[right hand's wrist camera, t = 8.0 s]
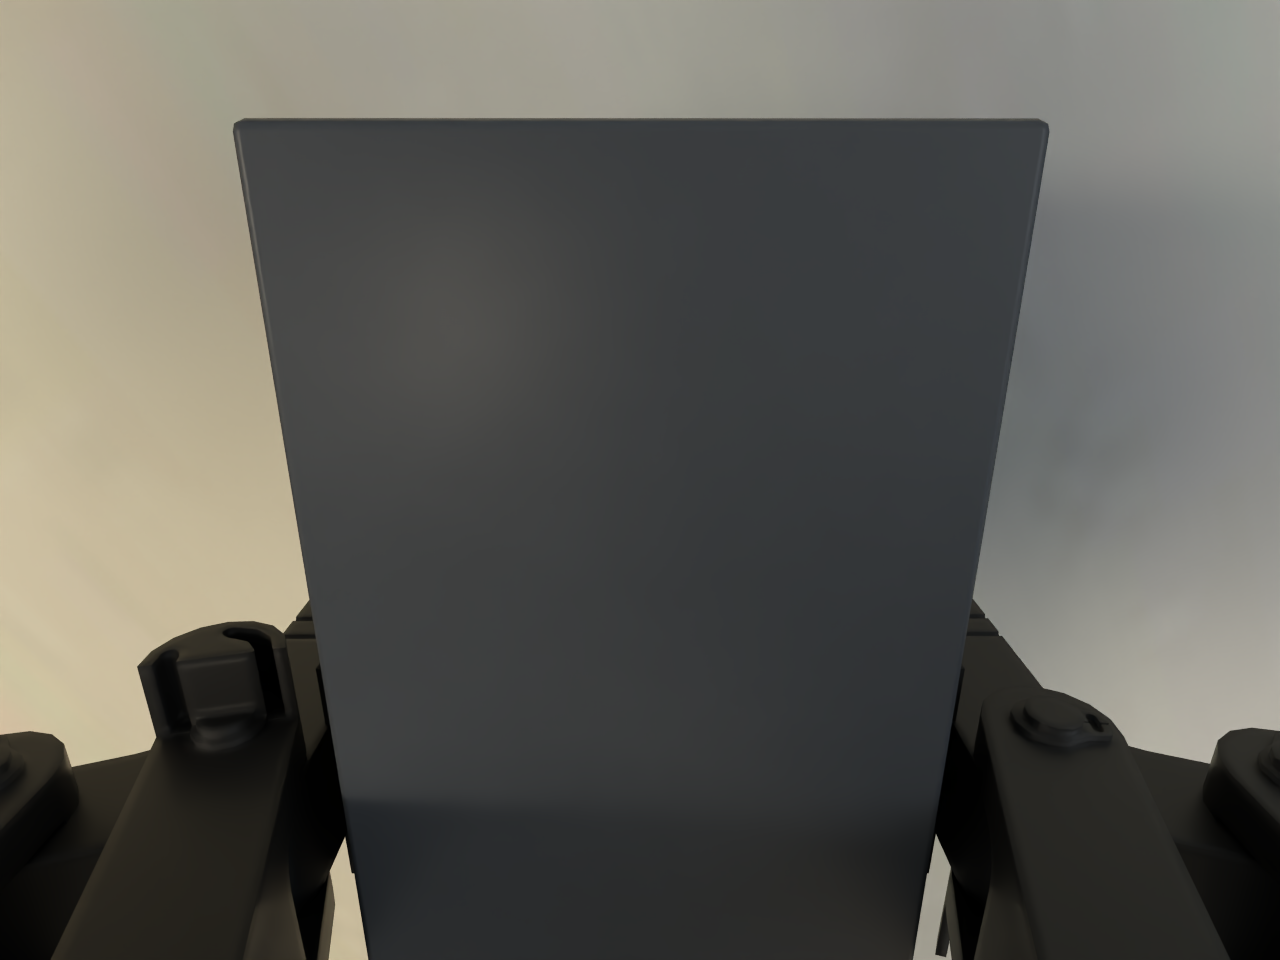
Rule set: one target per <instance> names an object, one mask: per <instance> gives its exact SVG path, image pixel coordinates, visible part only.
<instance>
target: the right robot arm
mask: <svg viewBox="0 0 1280 960" xmlns="http://www.w3.org/2000/svg"><path fill="white" fill-rule="evenodd" d="M137 668H138V671H139V675H140V679H141V682H142V686H143V690H144V693H145V697H146V701H147V704H148V708H149V711H150V715H151V719H152V722H153V726H154V730H155V733H156V739H155V742H154V744H153V746H152V748H151V750H149V751H145V752H141V753H138V754H134V755H129V756H124V757H119V758H114V759H109V760H104V761H100V762H95V763H90V764H85V765H80V766H75V767H71V764H70V761H69V758H68V755H67V752H66V749H65V746H64V744H63V743H62V742H61V741H60V740H58V739H57V738H56V737H55V736H53V735H52V734H46V733H39V732H31V731H28V732H20V733H12V734H4V735H0V960H328V959H329V951H330V942H331V934H332V926H333V917H334V909H335V900H334V893H333V886H332V881H331V876H330V869H331V867H332V865H333V862H334V860H335V858H336V856H337V853H338V851H339V849H340V847H341V844H342V842H343V840H344V838H346V843H347V849H348V855H349V860H350V866H351V871H352V873H354V868H353V862H352V856H351V850H350V843H349V837H348V831H347V825H346V819H345V813H344V807H343V801H342V795H341V788H340V782H339V776H338V770H337V764H336V758H335V752H334V746H333V740H332V733H331V727H330V721H329V715H328V709H327V703H326V697H325V691H324V685H323V678H322V672H321V666H320V660H319V654H318V648H317V642H316V636H315V630H314V623H313V617H312V611H311V605H310V600H309V601H308V603H307V604H306V605H305V606H304V608H303V609H302V610H301V611H300V613H299V614H298V615H297V617H296V621H293V622H292V623H291V624H290V626H289V627H288V628H287V629H286V631H285V632H284V633H282V632H281V631H279V630H278V629H277V628H276V627H274V626H273V625H268V624H264V623H259V622H255V621H246V622H226V623H221V624H216V625H211V626H207V627H202V628H199V629H196V630H193V631H191V632H188V633H185V634H183V635H180V636H178V637H175V638H173V639H171V640H170V641H168V642H166V643H165V644H163V645H161V646H160V647H158V648H156V649H155V650H153V651H151V652H150V654H149V655H148V656H147V657H146V658H145V659H144V660H143V661H142V662H141V663H140V664H139V665H138V666H137ZM935 835H937V837H938V839H939V841H940V844H941V846H942V848H943V850H944V852H945V855H946V857H947V859H948V861H949V864H950V866H951V870H950V875H949V881H948V886H947V891H946V896H945V902H944V907H943V912H942V917H941V923H940V928H939V933H938V939H937V946H936V953H935V955H939V956H943V957H946V955H947V950H948V945H949V940H950V949H951V957H952V960H1280V731H1274V730H1266V729H1258V728H1247V729H1240V730H1233V731H1229V732H1228V733H1227V734H1225V735H1224V736H1223V737H1222V738H1220V739H1219V740H1218V742H1217V745H1216V748H1215V751H1214V754H1213V757H1212V760H1211V763H1210V764H1208V763H1203V762H1198V761H1193V760H1188V759H1184V758H1179V757H1174V756H1169V755H1164V754H1159V753H1154V752H1149V751H1145V750H1141V749H1137V748H1134V747H1130V746H1128V744H1127V742H1126V740H1125V738H1124V736H1123V735H1122V733H1121V732H1120V731H1119V730H1118V728H1117V727H1116V726H1115V724H1114V723H1113V722H1112V721H1111V719H1109V718H1108V717H1106V716H1105V715H1104V714H1102V713H1101V712H1099V711H1098V710H1097V709H1095V708H1094V707H1092V706H1091V705H1089V704H1087V703H1085V702H1083V701H1080V700H1078V699H1076V698H1074V697H1071V696H1069V695H1067V694H1064V693H1061V692H1057V691H1052V690H1048V689H1044V688H1043V687H1042V686H1041V685H1040V684H1039V682H1038V681H1037V680H1036V679H1035V677H1034V676H1033V675H1032V674H1031V672H1030V671H1029V670H1028V668H1027V667H1026V666H1025V665H1024V663H1023V662H1022V661H1021V660H1020V658H1019V657H1018V656H1017V654H1016V653H1015V652H1014V651H1013V649H1012V648H1011V647H1010V646H1009V644H1008V643H1007V642H1006V641H1005V639H1004V638H1003V637H1002V636H999V634H998V630H997V629H996V628H995V627H994V625H993V624H992V623H991V621H990V620H989V619H988V618H985V614H984V613H983V611H982V610H981V609H980V608H979V606H978V605H977V604H976V602H975V601H974V600H973V599H972V604H971V610H970V616H969V622H968V628H967V634H966V640H965V646H964V652H963V658H962V664H961V670H960V676H959V682H958V688H957V695H956V701H955V707H954V713H953V719H952V725H951V731H950V737H949V743H948V749H947V755H946V761H945V767H944V773H943V779H942V785H941V791H940V798H939V804H938V810H937V816H936V822H935V828H934V834H933V840H932V846H931V852H930V858H929V864H928V870H927V873H929V869H930V863H931V858H932V852H933V846H934V841H935Z"/></svg>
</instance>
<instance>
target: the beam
mask: <svg viewBox="0 0 1280 960" xmlns="http://www.w3.org/2000/svg"><path fill="white" fill-rule="evenodd" d="M233 135H234V141H235V147H236V153H237V159H238V165H239V171H240V177H241V183H242V190H243V196H244V202H245V208H246V214H247V220H248V226H249V232H250V238H251V245H252V251H253V257H254V263H255V269H256V275H257V281H258V287H259V293H260V300H261V306H262V312H263V318H264V324H265V330H266V336H267V342H268V348H269V355H270V361H271V367H272V373H273V379H274V385H275V391H276V397H277V403H278V410H279V416H280V422H281V428H282V434H283V440H284V446H285V452H286V458H287V465H288V471H289V477H290V483H291V489H292V495H293V501H294V507H295V513H296V520H297V526H298V532H299V538H300V544H301V550H302V556H303V562H304V568H305V575H306V581H307V587H308V593H309V599H310V605H311V611H312V617H313V623H314V630H315V636H316V642H317V648H318V654H319V660H320V666H321V672H322V678H323V685H324V691H325V697H326V703H327V709H328V715H329V721H330V727H331V733H332V740H333V746H334V752H335V758H336V764H337V770H338V776H339V782H340V788H341V795H342V801H343V807H344V813H345V819H346V825H347V831H348V837H349V843H350V850H351V856H352V862H353V868H354V874H355V880H356V886H357V892H358V898H359V905H360V911H361V917H362V923H363V929H364V935H365V941H366V947H367V953H368V960H913V955H914V949H915V943H916V937H917V931H918V925H919V919H920V913H921V907H922V901H923V894H924V888H925V882H926V876H927V870H928V864H929V858H930V852H931V846H932V840H933V834H934V828H935V822H936V816H937V810H938V804H939V798H940V791H941V785H942V779H943V773H944V767H945V761H946V755H947V749H948V743H949V737H950V731H951V725H952V719H953V713H954V707H955V701H956V695H957V688H958V682H959V676H960V670H961V664H962V658H963V652H964V646H965V640H966V634H967V628H968V622H969V616H970V610H971V604H972V598H973V591H974V585H975V579H976V573H977V567H978V561H979V555H980V549H981V543H982V537H983V531H984V525H985V519H986V513H987V507H988V501H989V495H990V488H991V482H992V476H993V470H994V464H995V458H996V452H997V446H998V440H999V434H1000V428H1001V422H1002V416H1003V410H1004V404H1005V398H1006V392H1007V385H1008V379H1009V373H1010V367H1011V361H1012V355H1013V349H1014V343H1015V337H1016V331H1017V325H1018V319H1019V313H1020V307H1021V301H1022V295H1023V289H1024V282H1025V276H1026V270H1027V264H1028V258H1029V252H1030V246H1031V240H1032V234H1033V228H1034V222H1035V216H1036V210H1037V204H1038V198H1039V192H1040V186H1041V179H1042V173H1043V167H1044V161H1045V155H1046V149H1047V143H1048V137H1049V126H1048V123H1046V122H1044V121H1042V120H1040V119H708V118H244V119H242V120H240V121H238V122H236V123H234V129H233Z"/></svg>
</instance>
